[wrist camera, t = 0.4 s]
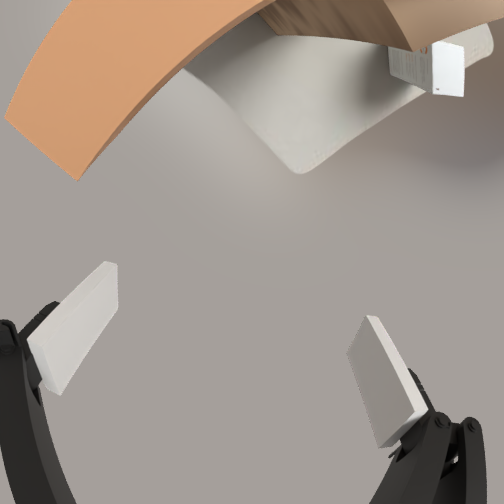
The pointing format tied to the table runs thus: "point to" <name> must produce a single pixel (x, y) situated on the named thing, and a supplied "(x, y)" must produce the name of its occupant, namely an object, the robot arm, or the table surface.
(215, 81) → the table surface
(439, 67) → the small box
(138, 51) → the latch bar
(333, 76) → the table surface
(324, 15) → the post
